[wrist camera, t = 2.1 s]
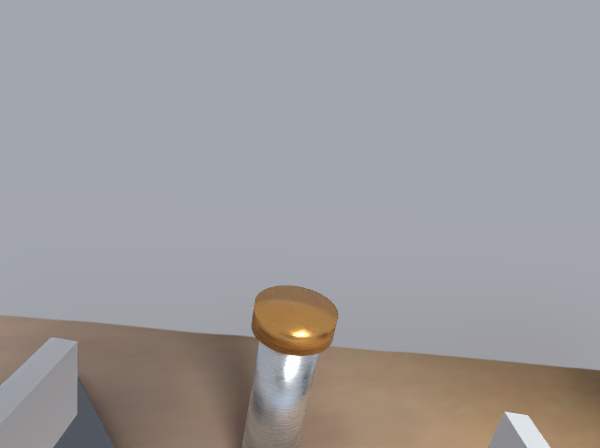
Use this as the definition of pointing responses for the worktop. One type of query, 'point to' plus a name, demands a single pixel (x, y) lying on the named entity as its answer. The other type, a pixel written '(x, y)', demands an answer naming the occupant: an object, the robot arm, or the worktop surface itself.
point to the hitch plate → (85, 426)
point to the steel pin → (285, 362)
